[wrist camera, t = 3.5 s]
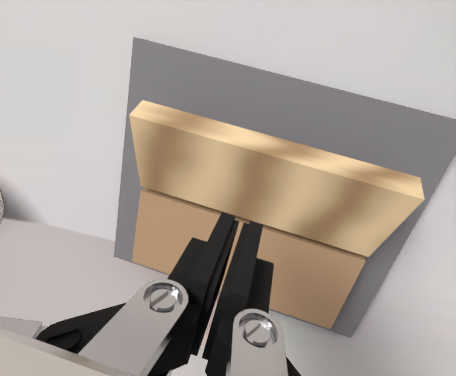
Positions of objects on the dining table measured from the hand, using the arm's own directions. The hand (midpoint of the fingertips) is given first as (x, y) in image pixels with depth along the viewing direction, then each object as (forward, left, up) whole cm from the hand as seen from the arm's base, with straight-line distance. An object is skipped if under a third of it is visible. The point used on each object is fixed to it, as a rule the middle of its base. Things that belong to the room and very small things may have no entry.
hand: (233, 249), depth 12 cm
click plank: (0, +1, -13) cm, 13 cm away
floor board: (0, +5, -16) cm, 16 cm away
